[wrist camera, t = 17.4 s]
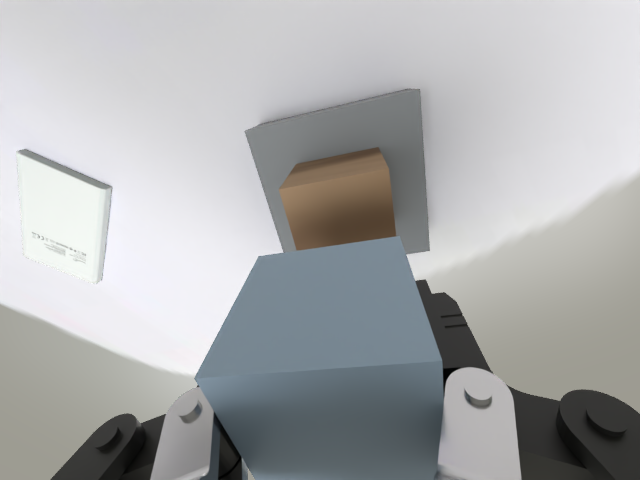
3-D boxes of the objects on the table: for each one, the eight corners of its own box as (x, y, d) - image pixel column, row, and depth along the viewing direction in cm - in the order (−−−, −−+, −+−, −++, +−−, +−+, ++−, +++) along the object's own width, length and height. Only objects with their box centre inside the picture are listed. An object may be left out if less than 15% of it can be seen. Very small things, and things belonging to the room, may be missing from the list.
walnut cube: (296, 164, 21) (278, 189, 16) (378, 146, 20) (388, 168, 15) (314, 235, 24) (304, 277, 19) (387, 224, 23) (399, 265, 18)
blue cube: (258, 256, 11) (194, 378, 6) (399, 235, 10) (442, 360, 5) (293, 353, 13) (263, 494, 8) (410, 343, 12) (446, 495, 7)
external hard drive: (116, 185, 29) (105, 277, 34) (30, 147, 27) (33, 249, 33) (104, 190, 27) (94, 285, 33) (13, 150, 26) (19, 256, 32)
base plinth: (259, 124, 24) (244, 131, 21) (408, 88, 22) (419, 89, 18) (296, 248, 29) (289, 270, 26) (419, 229, 27) (429, 250, 24)
